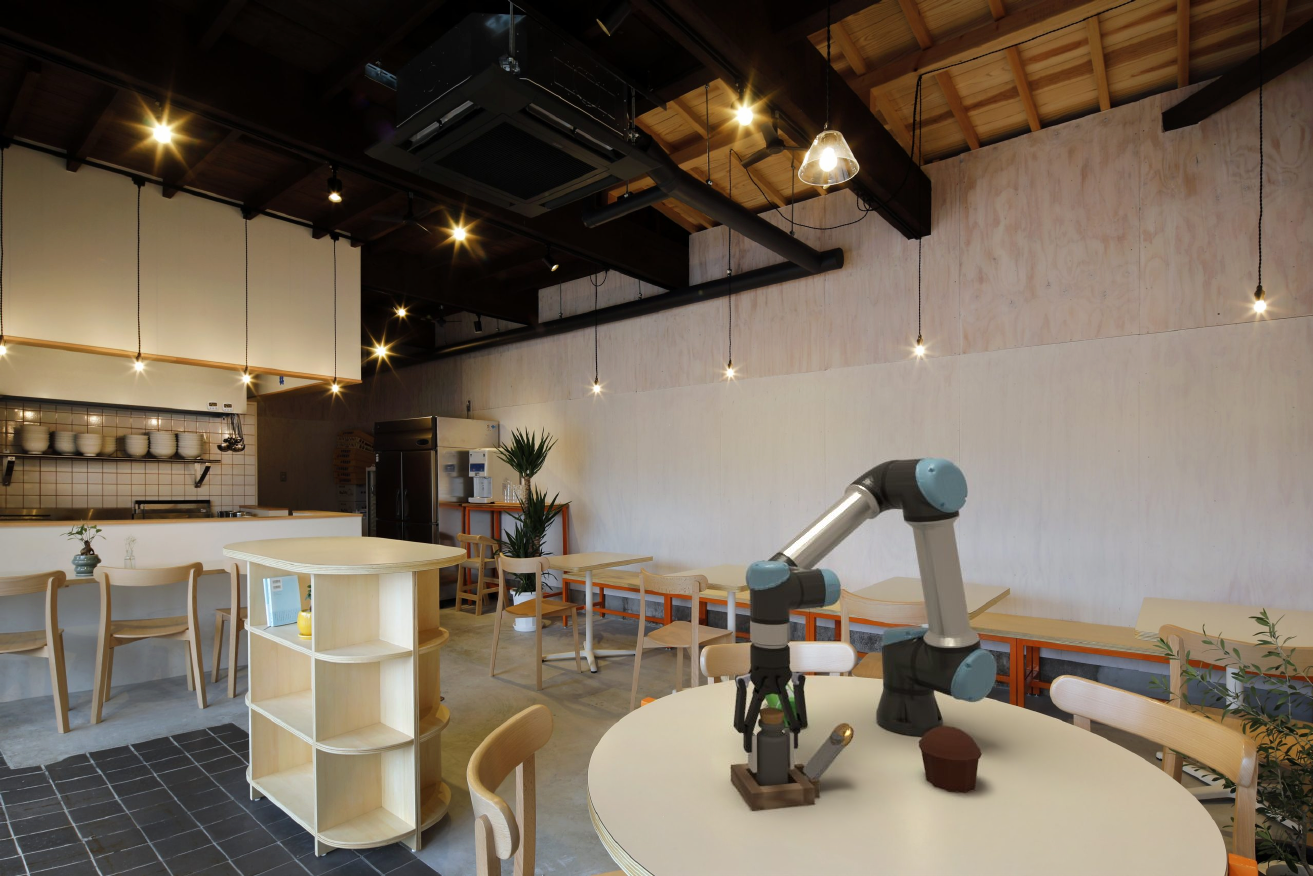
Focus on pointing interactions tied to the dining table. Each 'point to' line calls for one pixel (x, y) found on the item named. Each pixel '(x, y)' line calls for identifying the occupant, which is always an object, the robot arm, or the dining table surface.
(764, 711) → the bottle
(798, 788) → the socket block
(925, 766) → the muffin
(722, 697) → the dining table surface
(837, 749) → the bar
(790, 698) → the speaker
